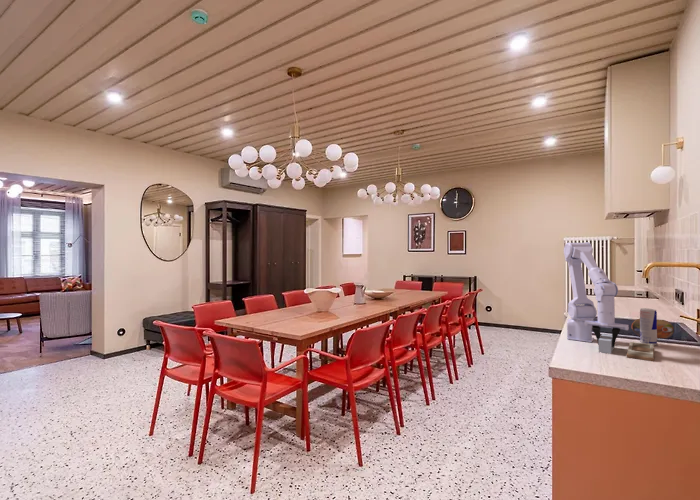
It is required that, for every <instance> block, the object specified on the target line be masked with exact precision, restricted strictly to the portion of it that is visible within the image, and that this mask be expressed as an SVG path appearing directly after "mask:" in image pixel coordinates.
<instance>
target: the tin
mask: <svg viewBox="0 0 700 500" xmlns="http://www.w3.org/2000/svg"><path fill="white" fill-rule="evenodd" d="M631 329H632V332H633V333H634V334H635V335H637V336H639V337H640V318H637V319H635V320H634V321H633V322H632V323H631ZM674 333H675V327H674V326H673V324H672V323H671V322H669V321H668V320H665V319H658V318H657V339H669V338H670V337H672V336H673V334H674Z"/></svg>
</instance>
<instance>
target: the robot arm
mask: <svg viewBox="0 0 700 500" xmlns="http://www.w3.org/2000/svg"><path fill="white" fill-rule="evenodd" d="M593 251H594V248H593V246H592V244H591V242H588V241H586V242H570V241H569V242H566V243H565V245H564V248H563V255H564V260H565V262H567V265H568V272H569V278H570V282H571V289H572V295H573V299H571V300H570V301H569V302H568V304H567V306H568V307H567V313H568V316H569V317H570V318H568V319H567V322H566V327H567V328H566V331H567V333H566V336H567V337H566V339H567V340H571V341H572V340H573V341H580V342H587V343H588V342H589V343H593V341H594V340H595V338H596V340H597V345H598V346H599V338H600V336H601V328H606V329H611V335H612V347H615V344H616V341H617V338H618V336H619V334H620V332H621V330H624V331H629V328H630V327H629V324H625V323H618V322H615V320H616V319H615V317H616V315H615V312H616V311H615V297H616V296H618V293H619V288H618V284H616V283H615V282H614V281H612V280H610V278H608V275H607V274H606V272H605V271H604V269H603V268H601V267H599V266H598V264H597V262H596V260H595V258H594V255H593ZM582 263H583V264H584V265H585V267H586V268H587V270H588V273H587V275H588V277H589V278H590V279H589V280H590V281H591V282H592V284H593V287H594V288H593V293H594V295H595V300H596V302H597V303H596V305H597V306H596V307H597V308H596V307H595V304H594V301H593V300H592V299H590V298H588V296H587V289H586V284H585V283H586V282H585V278H584V271H583V268H582ZM596 317H597V320H594V319H595V318H596ZM593 333H594V336H595V338H594V337H593Z"/></svg>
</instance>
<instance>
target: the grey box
mask: <svg viewBox="0 0 700 500" xmlns="http://www.w3.org/2000/svg"><path fill="white" fill-rule="evenodd" d="M614 347H615V346H614ZM614 347H612V334H607V333H606V334H605V333H602V334H600V338H599V345H598V353H600V352H601V354H607V353H608V355H611V354H612V353H613V350H614Z"/></svg>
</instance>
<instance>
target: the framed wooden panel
mask: <svg viewBox="0 0 700 500" xmlns="http://www.w3.org/2000/svg"><path fill="white" fill-rule="evenodd" d="M626 358H629V359H634V360H635V359H636V360H640V361H641V360H642V361H648V362H655V347H654V345H652V344H644V343H641V342H635V341H629V345H628V348H627V352H626Z"/></svg>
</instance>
